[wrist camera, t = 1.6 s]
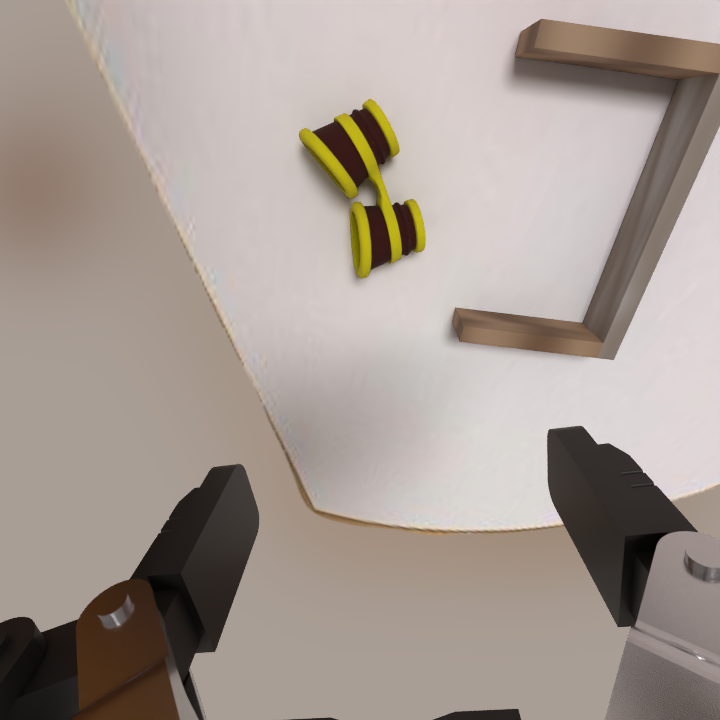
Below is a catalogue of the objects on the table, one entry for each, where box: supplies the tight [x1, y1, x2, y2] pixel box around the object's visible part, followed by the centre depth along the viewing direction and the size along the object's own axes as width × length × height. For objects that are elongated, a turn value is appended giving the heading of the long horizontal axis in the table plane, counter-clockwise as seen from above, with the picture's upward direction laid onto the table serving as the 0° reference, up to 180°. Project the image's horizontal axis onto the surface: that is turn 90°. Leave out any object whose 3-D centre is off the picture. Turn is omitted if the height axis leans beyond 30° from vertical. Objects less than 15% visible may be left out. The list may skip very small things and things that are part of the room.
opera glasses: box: [299, 99, 425, 278], centre depth 28 cm, size 10×5×5 cm, turn 22°
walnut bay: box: [452, 19, 720, 360], centre depth 28 cm, size 11×18×4 cm, turn 173°
